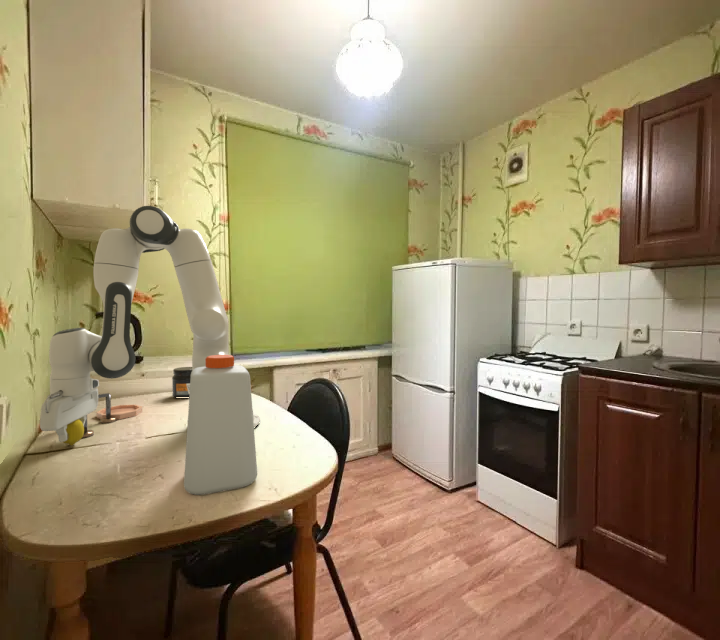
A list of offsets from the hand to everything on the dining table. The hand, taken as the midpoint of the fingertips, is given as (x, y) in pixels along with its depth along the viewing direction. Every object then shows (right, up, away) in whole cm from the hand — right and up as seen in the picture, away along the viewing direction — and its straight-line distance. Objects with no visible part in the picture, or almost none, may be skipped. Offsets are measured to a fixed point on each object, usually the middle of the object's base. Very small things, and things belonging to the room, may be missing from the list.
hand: (71, 436), depth 104 cm
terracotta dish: (-6, -1, +30) cm, 30 cm away
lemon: (0, -3, 0) cm, 3 cm away
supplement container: (+5, -1, +57) cm, 57 cm away
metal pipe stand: (-6, -2, +14) cm, 16 cm away
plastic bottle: (+48, -4, -19) cm, 52 cm away
